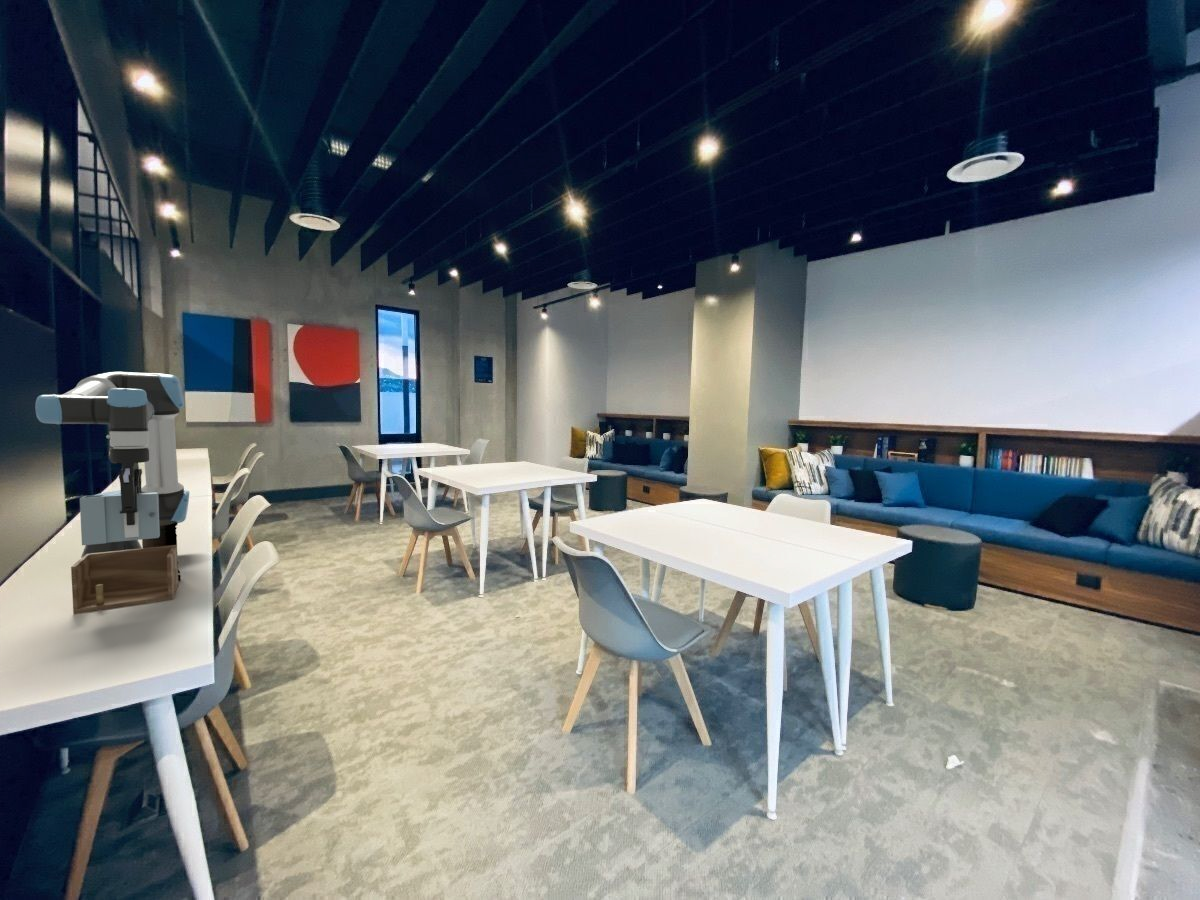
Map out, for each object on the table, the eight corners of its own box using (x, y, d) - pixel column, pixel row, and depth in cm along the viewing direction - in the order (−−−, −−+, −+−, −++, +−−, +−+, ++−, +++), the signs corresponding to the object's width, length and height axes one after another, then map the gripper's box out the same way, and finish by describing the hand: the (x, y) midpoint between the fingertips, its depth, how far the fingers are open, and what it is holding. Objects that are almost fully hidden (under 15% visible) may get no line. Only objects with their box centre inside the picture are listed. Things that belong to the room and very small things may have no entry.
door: (86, 541, 129) (84, 495, 128) (160, 535, 137) (158, 491, 137) (81, 545, 125) (79, 498, 125) (157, 538, 134) (155, 494, 133)
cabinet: (88, 596, 137) (86, 553, 136) (178, 584, 148) (177, 544, 147) (73, 613, 126) (71, 567, 125) (172, 599, 136) (170, 556, 136)
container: (135, 583, 148) (132, 524, 147) (172, 575, 156) (170, 518, 155) (149, 589, 144) (146, 527, 143) (186, 580, 152) (184, 522, 150)
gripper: (116, 446, 135) (120, 531, 137) (102, 449, 122) (106, 543, 124) (153, 445, 140) (156, 528, 141) (143, 448, 127) (147, 540, 128)
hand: (133, 535), depth 132 cm, fingers closed on door, 3 cm apart
